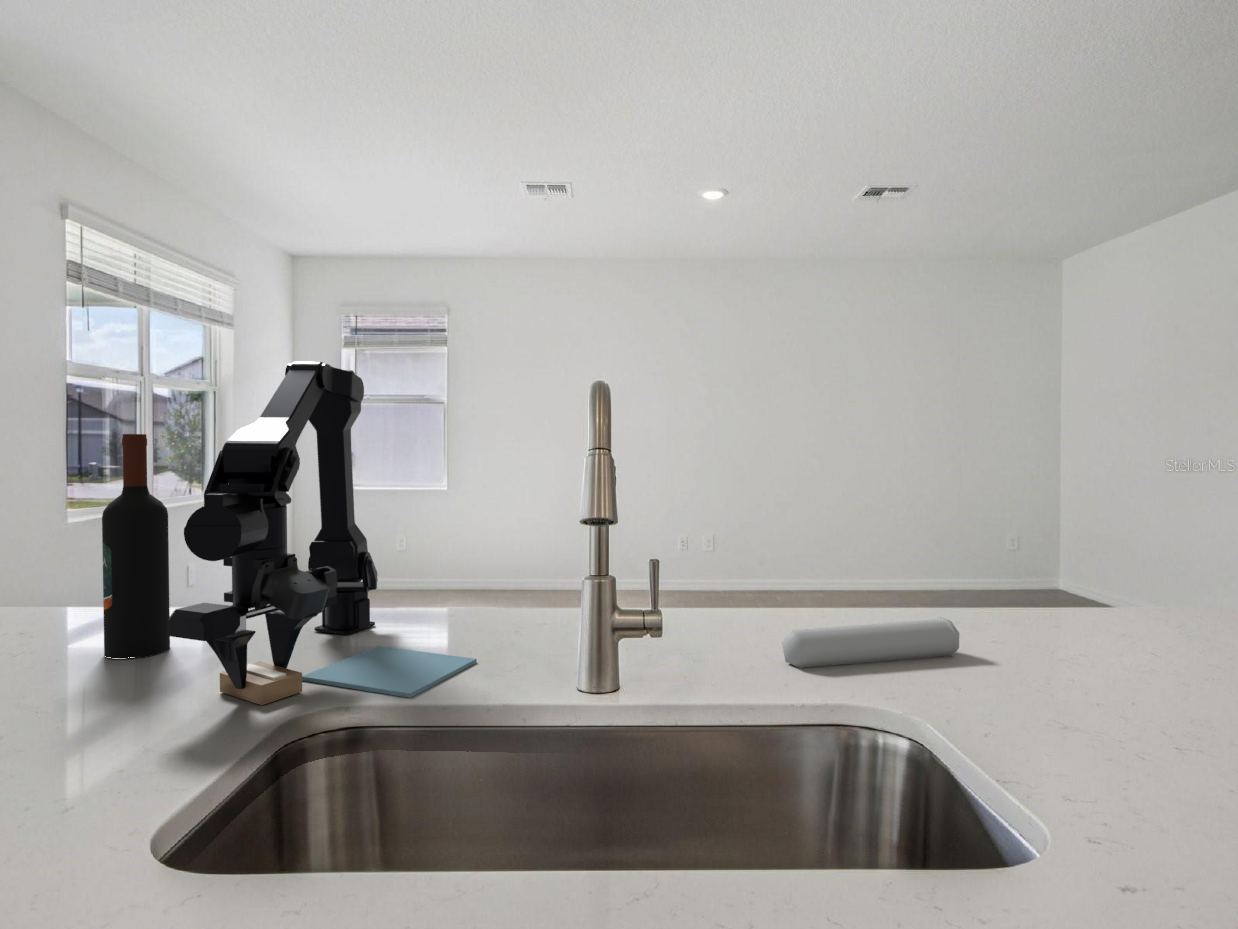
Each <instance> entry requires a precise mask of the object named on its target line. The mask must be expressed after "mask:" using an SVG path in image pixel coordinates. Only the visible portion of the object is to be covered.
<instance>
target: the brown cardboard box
mask: <svg viewBox="0 0 1238 929" xmlns="http://www.w3.org/2000/svg"><path fill="white" fill-rule="evenodd" d="M302 676H303V672H301V671H297V670H294V669H290V668H287V669H286V668H283V667H279V666H275V665H274V664H271V663H267V662H263V661H257V662H253V663H249V662H248V663H247V678H246V685H245V688H244V689H236V688H235V686H234V685H233V683H232V681H231V679H230V677H229V676H228V674H227V672H226V670H225V671H222V672H219V692H220V693H223V694H226V695H229V696H232V697H235V698H237V699H238V698H239V699H242V700H244V701H247V702H250V703H255V704H258V705H260V706H264V705H266V704H270V703H272V702H275V701H278V700H280V699H284V698H287V697H290V696H293V695H296V694H300V693H302V692H303V681H302Z"/></svg>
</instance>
